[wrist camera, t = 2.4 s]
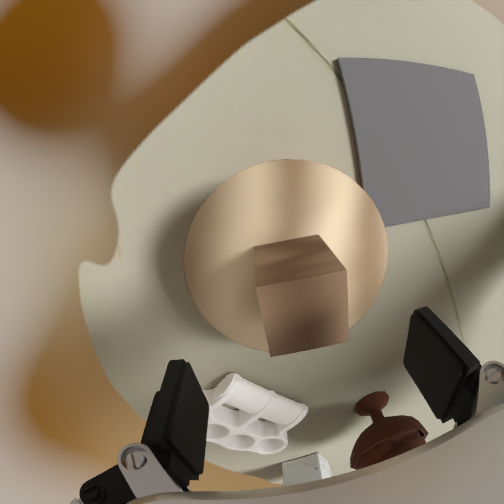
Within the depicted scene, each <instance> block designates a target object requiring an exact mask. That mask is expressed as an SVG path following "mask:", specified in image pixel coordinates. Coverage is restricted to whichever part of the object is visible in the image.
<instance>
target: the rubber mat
mask: <svg viewBox="0 0 504 504" xmlns="http://www.w3.org/2000/svg"><path fill="white" fill-rule="evenodd" d="M337 63H338V66H339V70H340V74H341V78H342V82H343V86H344V90H345V94H346V98H347V103H348V107H349V112H350V117H351V122H352V127H353V133H354V138H355V144H356V151H357V157H358V164H359V171H360V179H361V187H362V189H363V190H364V191H365V192H366V193H367V194H368V196H369V197H370V198H371V200H372V201H373V202H374V204H375V206H376V207H377V209H378V211H379V213H380V215H381V218H382V220H383V223H384V226H385V227H386V226H391V225H397V224H402V223H407V222H413V221H418V220H424V219H429V218H434V217H440V216H445V215H451V214H456V213H461V212H467V211H472V210H477V209H483V208H488V207H490V178H489V160H488V148H487V139H486V132H485V125H484V119H483V113H482V107H481V102H480V98H479V93H478V89H477V85H476V81H475V77H474V75H473V74H470V73H466V72H462V71H458V70H453V69H449V68H444V67H439V66H433V65H427V64H421V63H414V62H406V61H398V60H387V59H372V58H338V59H337Z"/></svg>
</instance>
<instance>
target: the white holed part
mask: <svg viewBox="0 0 504 504" xmlns="http://www.w3.org/2000/svg"><path fill="white" fill-rule="evenodd" d="M202 391H203V393H204V395H205V397H206V399H207V401H208V403H209V418H208V428H207V437H206V441H208V442H213V443H216V444H219V445H221V446H223V447H224V448H227V449H232V450H237V451H238V450H246V451H253V452H256V453H259V454H272V453H277V452H279V451H282V450H283V449H285V448H286V447H287V445H288V437H287V431H288V430H290V429H291V428H293V427H294V426H295V425H297V424H298V423H299V422H301V421H302V420H303V418H304V417H305V416H306V414H307V412H308V407H307V406H306V405H305V404H303V403H298V402H295V401H293V400H290V399H288V398H286V397H283V396H281V395H279V394H276V393H275V391H272V390H267V389H265V388H263V387H261V386H259V385H257V384H254V383H252V382H250V381H248V380H246V379H244V378H242V377H240V375H238V374H236V373H235V374H234V373H230V374H228V375H227V376H226V377H225V378H223V379H222V380H221V381H220V382H219V384H218V385H217V386H216V387H215V388H214V389H209V390H203V389H202ZM223 403H226V404H228V405H231V406H233V407H235V408H238V409H240V410H238V411H233V410H231V409H228V408H226V407H224V406H221V405H222V404H223ZM258 418H263V419H266V420H268V421H258V420H257V419H258Z"/></svg>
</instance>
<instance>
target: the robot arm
mask: <svg viewBox="0 0 504 504" xmlns="http://www.w3.org/2000/svg"><path fill="white" fill-rule="evenodd" d="M403 361H404V366H405V368H406V369H407V371H408V373H409V374H410V376H411V377H412V379H413V380H414V382H415V384H416V385H417V387H418V388H419V390H420V392H421V393H422V395H423V396H424V398H425V400H426V401H427V403H428V405H429V406H430V408H431V410H432V411H433V413H434V415H435V417H436V418H437V419H441V421H442V423H445V422H447V421H448V420H450V419H452V418H453V419H454V421H455V425H454V429H453V430H451V431H449V432H447V433H445V434H443V435H441V436H439V437H437V438H435V439H433V440H431V441H429V442H427V443H425V444H423V445H421V446H419V447H417V448H415V449H412V450H410V451H408V452H405V453H403V454H400V455H398V456H396V457H393V458H390V459H388V460H385V461H382V462H380V463H377V464H374V465H371V466H368V467H365V468H362V469H358V470H355V471H352V472H348V473H345V474H341V475H337V476H333V477H329V478H325V479H320V480H316V481H311V482H306V483H300V484H294V485H288V486H281V487H274V488H265V489H254V490H239V491H209V492H208V491H204V492H203V491H199V492H192V491H191V490H190V489H189V487H188V485H189V481H190V480H199V474H202V473H203V467H204V458H205V447H206V437H207V428H208V418H209V403H208V401H207V399H206V397H205V395H204V393H203V391H202V388H201V386H200V384H199V382H198V380H197V378H196V376H195V374H194V372H193V369H192V367H191V365H190V363H189V362H185V360H184V359H180V360H170V361H169V363H168V366H167V369H166V373H165V376H164V379H163V382H162V386H161V389H160V391H157V392H156V394H155V396H154V399H153V403H152V406H151V409H150V412H149V416H148V419H147V422H146V426H145V429H144V433H143V436H142V440H141V443H131V444H128V445H126V446H125V447H123V448H122V449H121V451H120V452H119V454H118V456H117V463H118V464H117V465H115V466H114V467H112V468H110V469H108V470H107V471H105V472H103V473H101V474H99V475H97V476H96V477H94V478H92V479H90V480H88V481H86V482H85V483H84V484H83V485H82V487H81V489H80V498H79V499H78V500H77V499H76V498H75V499H74V500H73V501H72V502H71V503H70V504H504V364H502V363H500V362H498V361H489V362H486V363H485V364H484V365H483V366H481V364H480V361H479V360H478V359H477V358H476V357H475V356H474V355H473V354H472V352H471V351H470V350H469V349H468V348H467V347H466V346H465V345H464V344H463V343H462V342H461V340H460V339H459V338H458V337H457V336H456V335H455V334H454V333H453V332H452V331H451V330H450V329H449V328H448V327H447V326H446V325H445V324H444V323H443V322H442V321H441V320H440V319H439V318H438V317H437V316H436V315H435V314H434V313H433V312H432V311H431V310H430V309H429V308H428V307H423V308H420V309H417V310H415V311H414V312H413V314H412V315H411V318H410V325H409V331H408V338H407V344H406V349H405V355H404V360H403Z"/></svg>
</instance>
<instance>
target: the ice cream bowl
mask: <svg viewBox="0 0 504 504" xmlns="http://www.w3.org/2000/svg"><path fill="white" fill-rule="evenodd" d="M388 400H389V396H388V394H387V393H386V392H374V393H372V394H369V395H367V396H365V397H364V398H362V399H361V400H360V401H359V402H358V403H357V404H356V407H355V411H356V412H357V413H358V414H359V415H360V416H369V415H370V416H371V418H372V421H373V424H371V425H370V426H369V427H368V428H366V429H365V430H364V431H363V432H362V433H361V435H360V436H359V438H358V439H357V441H356V443H355V445H354V448H353V450H352V454H351V458H350V467H351V468H354V469H356V470H358V469H362V468H365V467H368V466H371V465H374V464H377V463H380V462H382V461H385V460H388V459H390V458H393V457H396V456H398V455H400V454H403V453H405V452H408V451H410V450H412V449H415V448H417V447H419V446H421V445H423V444H425V443H426V441H425V438H426V436H427V435H428V432H427V431H426V429H425V428H424V427H423V426H422V425H421V423H420V422H419V421H418V420H416V419H415V418H413V417H412V416H404V415H401V416H391V417H384V416H383V414H382V411H381V410H382V409H383V408H384V407H385V406H386V405H387V402H388Z"/></svg>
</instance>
